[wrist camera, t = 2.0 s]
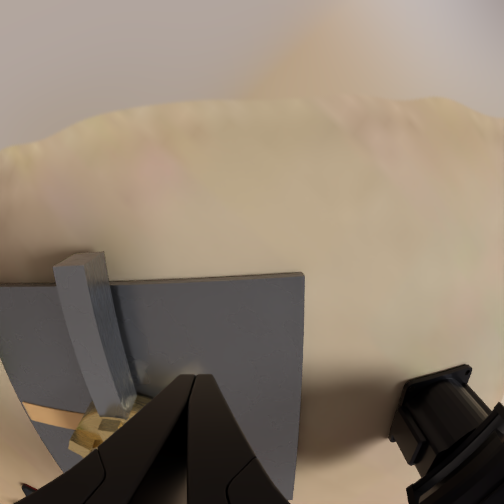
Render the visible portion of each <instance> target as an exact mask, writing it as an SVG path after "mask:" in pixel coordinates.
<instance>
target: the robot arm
mask: <svg viewBox="0 0 504 504" xmlns="http://www.w3.org/2000/svg"><path fill="white" fill-rule="evenodd" d="M471 372H472V368H471V367H470V366H469V365H464V366H461V367H458V368H455V369H452V370H448V371H445V372H441V373H438V374H434V375H431V376H427V377H423V378H419V379H415V380H411V381H409V382H407V383H406V384H405V386H404V389H403V392H402V396H401V399H400V403H399V406H398V409H397V411H396V414H395V417H394V421H393V424H392V427H391V430H390V434H389V440H390V441H391V442H397V444H398V446H399V448H400V450H401V452H402V454H403V456H404V457H405V459H406V461H407V463H408V464H409V465H410V466H412V465H415V467H416V468H417V470H418V472H419V474H420V476H421V479H419V480H418V481H417V482H415V483H414V484H411V485H410V486H408V487H407V488H406V491H407V496H408V503H409V504H504V406H503V405H502V404H501V403H500V402H498V403H497V405H496V406H495V407H494V410H493V411H491V410H490V409H489V408H488V406H487V405H486V404H485V403H484V402H483V401H482V400H481V399H480V398H479V397H478V395H477V394H476V393H475V392H474V391H473V390H472V389H471V388H470V387H469V386H468V385H467V383H468V380H469V378H470V375H471ZM97 449H98V450H97ZM97 449H94V450H93V451H92V452H91V453H89V454H88V455H87V456H86V457H85V458H83V459H82V460H81V461H80V462H78V463H77V464H76V465H74V466H73V467H72V468H71V469H69V470H68V471H66V472H65V473H63V474H62V475H60V476H59V477H57V478H56V479H54V480H53V481H51V482H49V483H48V484H46V485H45V486H43V487H41V488H40V489H38V490H36V491H35V492H33V493H31V494H30V495H28V496H26V497H24V498H23V499H21V500H19V501H18V502H16V503H14V504H290V503H289V502H288V500H287V499H286V498H285V497H284V496H283V494H282V493H281V492H280V491H279V490H278V488H277V487H276V486H275V484H274V483H273V482H272V480H271V479H270V477H269V476H268V474H267V473H266V471H265V470H264V468H263V466H262V464H261V463H260V461H259V459H258V458H257V457H256V455H255V453H254V451H253V449H252V448H251V446H250V444H249V442H248V441H247V439H246V437H245V435H244V433H243V432H242V430H241V428H240V426H239V424H238V422H237V421H236V419H235V417H234V415H233V413H232V411H231V409H230V407H229V405H228V404H227V402H226V400H225V398H224V396H223V394H222V392H221V390H220V388H219V386H218V384H217V382H216V380H215V378H214V376H213V375H212V374H197V375H194V374H180V375H178V376H177V377H176V378H175V379H174V380H173V381H172V382H171V383H170V384H168V385H167V386H166V387H165V388H164V389H163V390H162V391H161V392H160V393H158V394H157V395H156V396H155V397H154V398H153V399H152V400H151V401H150V402H148V403H147V404H146V405H145V406H144V407H143V408H142V409H141V410H139V411H138V412H137V413H136V414H135V415H134V416H133V417H132V418H130V419H129V420H128V421H127V422H126V423H125V424H124V425H122V426H121V427H120V428H119V429H118V430H117V431H115V432H114V433H113V434H112V435H111V436H110V437H109V438H107V439H106V440H105V441H104V442H103V443H101V444H100V445H99V446H98V447H97Z"/></svg>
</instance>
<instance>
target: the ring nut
mask: <svg viewBox="0 0 504 504" xmlns="http://www.w3.org/2000/svg"><path fill="white" fill-rule="evenodd" d="M53 272H54V276H55V281H56V286H57V290H58V294H59V298H60V302H61V306H62V310H63V314H64V318H65V321H66V325H67V328H68V332H69V335H70V338H71V342H72V345H73V348H74V351H75V354H76V357H77V360H78V363H79V366H80V369H81V371H82V374H83V377H84V380H85V382H86V385H87V387H88V390H89V393H90V395H91V398H92V400H93V401H92V402H91V403H90V404H89V406H88V408H87V410H86V412H85V413H84V415H83V417H82V419H81V421H80V423H79V425H78V427H77V428H76V430H75V431H74V433H73V435H72V436H71V438H70V441H69V447H68V449H69V450H71V451H73V452H75V453H77V454H79V455H81V456H82V458H85V457H86V456H87V455H88V454H89V453H91V452H92V451H93V450H94V449H97V447H98V446H99V445H100V444H101V443H103V442H104V441H105V440H106V439H107V438H109V437H110V436H111V435H112V434H113V433H114V432H115V431H117V430H118V429H119V428H120V427H121V426H122V425H124V424H125V423H126V422H127V421H128V420H129V419H130V418H132V417H133V416H134V415H135V414H136V413H137V412H138V411H139V410H141V409H142V408H143V407H144V406H145V405H146V404H147V403H148V402H150V401H151V400H152V399H150V398H147V397H144V396H141V395H137V392H136V389H135V386H134V383H133V379H132V376H131V372H130V369H129V365H128V362H127V358H126V354H125V351H124V347H123V343H122V339H121V335H120V331H119V327H118V322H117V318H116V313H115V309H114V304H113V299H112V294H111V289H110V284H109V278H108V273H107V267H106V261H105V254H104V251H103V252H88V253H75V254H73V255H71V256H70V257H68V258H66V259H65V260H63V261H61V262H60V263H58V264H56V265H55V266H53ZM97 450H98V449H97Z"/></svg>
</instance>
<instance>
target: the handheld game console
mask: <svg viewBox="0 0 504 504" xmlns="http://www.w3.org/2000/svg"><path fill="white" fill-rule="evenodd" d="M22 490H23V492H24V493H25V495H26V496H28V495H30V494H31V493H33V492H35V491H36V490H37V489H35V488H33V487H31V486H29V485H26V484H23V486H22Z"/></svg>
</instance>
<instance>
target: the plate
mask: <svg viewBox="0 0 504 504" xmlns="http://www.w3.org/2000/svg"><path fill="white" fill-rule="evenodd" d="M109 284H110V289H111V294H112V299H113V304H114V309H115V313H116V318H117V322H118V327H119V331H120V335H121V339H122V343H123V347H124V351H125V354H126V358H127V362H128V365H129V369H130V372H131V376H132V379H133V383H134V386H135V389H136V392H137V395H141V396H144V397H147V398H150V399H153V398H154V397H155V396H156V395H157V394H158V393H160V392H161V391H162V390H163V389H164V388H165V387H166V386H167V385H168V384H170V383H171V382H172V381H173V380H174V379H175V378H176V377H177V376H178V375H180V374H194V375H197V374H212V375H213V376H214V378H215V380H216V382H217V384H218V386H219V388H220V390H221V392H222V394H223V396H224V398H225V400H226V402H227V404H228V405H229V407H230V409H231V411H232V413H233V415H234V417H235V419H236V421H237V422H238V424H239V426H240V428H241V430H242V432H243V433H244V435H245V437H246V439H247V441H248V442H249V444H250V446H251V448H252V449H253V451H254V453H255V455H256V457H257V458H258V459H259V461H260V463H261V464H262V466H263V468H264V470H265V471H266V473H267V474H268V476H269V477H270V479H271V480H272V482H273V483H274V484H275V486H276V487H277V488H278V490H279V491H280V492H281V493H282V494H283V496H284V497H285V498H286V499H287V500H293V490H294V480H295V470H296V458H297V446H298V433H299V419H300V403H301V385H302V363H303V336H304V289H305V276H304V274H303V273H302V272H299V273H284V274H267V275H250V276H232V277H213V278H192V279H170V280H145V281H117V282H109ZM0 358H1V361H2V363H3V365H4V368H5V370H6V372H7V375H8V377H9V379H10V381H11V383H12V386H13V388H14V390H15V392H16V394H17V396H18V398H19V400H20V402H21V404H22V406H23V408H24V409H25V407H24V405H23V403H22V402H26V403H30V404H35V405H39V406H44V407H48V408H53V409H58V410H64V411H69V412H75V413H81V414H84V413H85V412H86V410H87V408H88V406H89V404H90V403H91V402H92V401H93V400H92V398H91V395H90V393H89V390H88V387H87V385H86V382H85V380H84V377H83V374H82V371H81V369H80V366H79V363H78V360H77V357H76V354H75V351H74V348H73V345H72V342H71V338H70V335H69V332H68V328H67V325H66V321H65V318H64V314H63V310H62V306H61V302H60V298H59V294H58V290H57V286H56V283H34V284H0ZM25 411H26V409H25ZM26 413H27V411H26ZM27 415H28V413H27ZM28 417H29V419H30V420H31V418H30V416H29V415H28ZM31 422H32V424H33V426H34V427H35V429H36V431H37V433H38V434H39V436H40V438H41V439H42V441H43V442H44V444H45V446H46V447H47V449H48V450H49V452H50V453H51V455H52V456H53V458H54V459H55V461H56V462H57V464H58V465H59V467H60V468H61V470H62V471H63V472H64V473H65V472H66V471H68V470H69V469H71V468H72V467H73V466H74V465H76V464H77V463H78V462H80V461H81V460H82V459H83V458H82V456H81V455H79V454H77V453H75V452H73V451H71V450H69V449H68V447H69V441H70V438H71V436H72V435H73V433H74V431H75V430H73V429H68V428H63V427H58V426H54V425H50V424H45V423H41V422H37V421H33V420H31Z"/></svg>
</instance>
